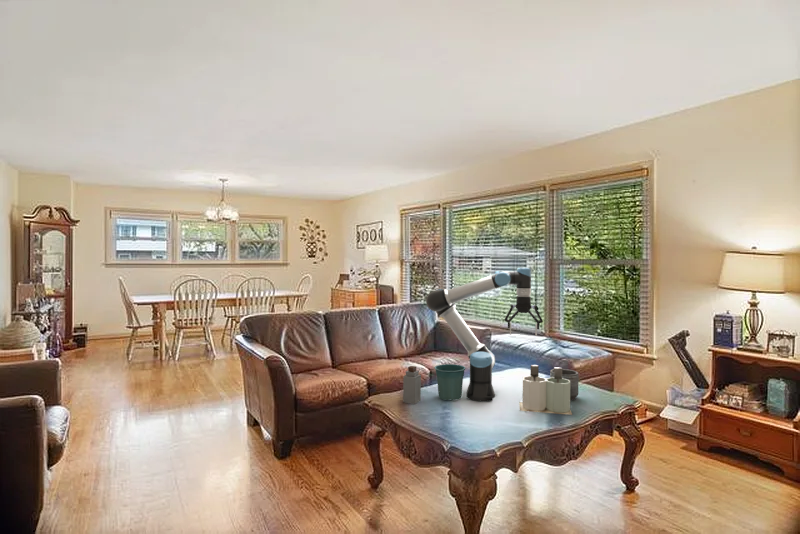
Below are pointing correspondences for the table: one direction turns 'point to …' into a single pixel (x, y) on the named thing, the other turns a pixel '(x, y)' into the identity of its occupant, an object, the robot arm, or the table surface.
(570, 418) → the table surface
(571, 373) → the planter
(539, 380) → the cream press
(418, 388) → the perfume bottle
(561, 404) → the sage press
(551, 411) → the board
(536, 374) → the press plunger
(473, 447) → the table surface
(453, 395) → the flower pot
